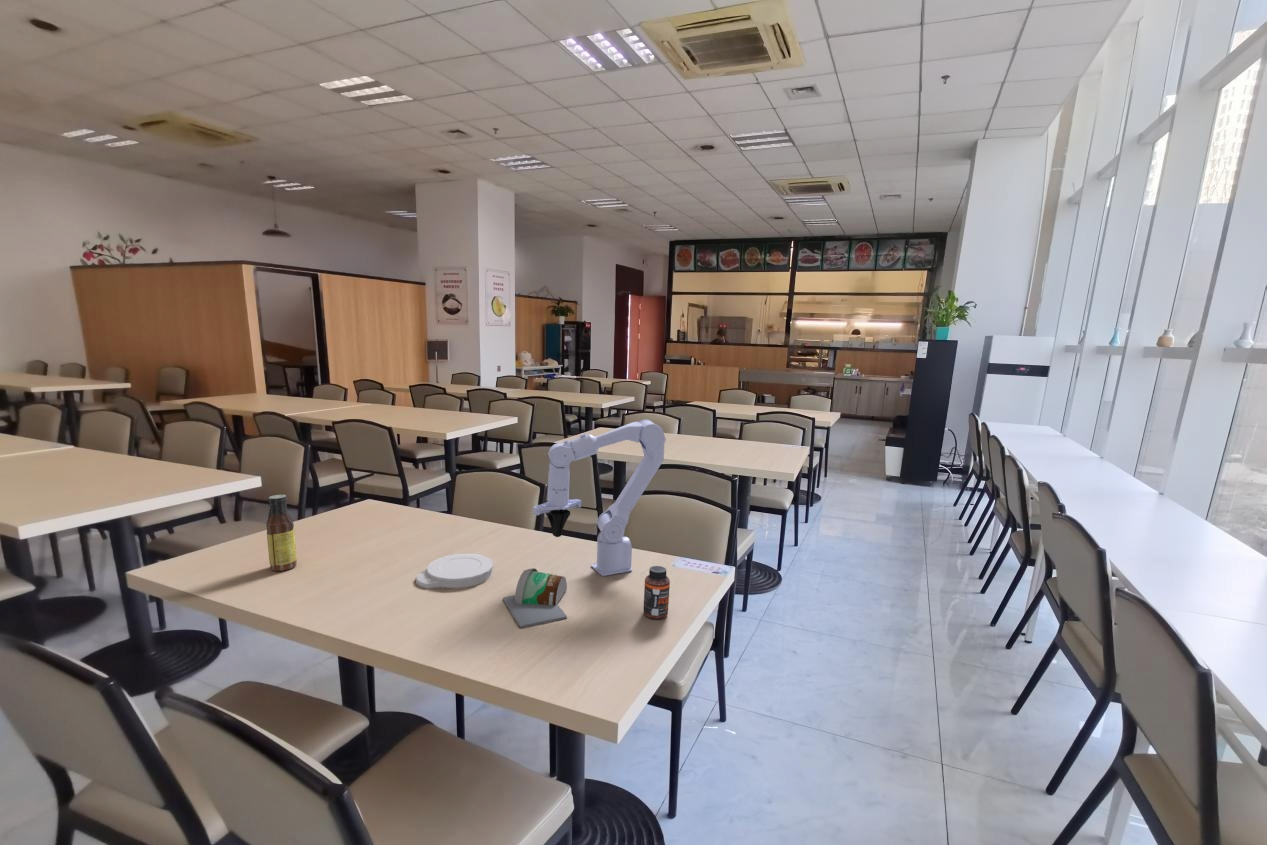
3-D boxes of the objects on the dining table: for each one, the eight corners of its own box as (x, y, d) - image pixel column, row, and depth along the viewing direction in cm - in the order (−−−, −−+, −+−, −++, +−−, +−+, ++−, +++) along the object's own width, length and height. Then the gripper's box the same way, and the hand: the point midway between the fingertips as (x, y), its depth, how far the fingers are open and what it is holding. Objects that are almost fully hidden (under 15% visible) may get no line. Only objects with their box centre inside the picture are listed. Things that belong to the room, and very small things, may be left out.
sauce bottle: (302, 563, 151) (299, 493, 148) (286, 573, 145) (282, 500, 142) (280, 562, 151) (276, 492, 149) (262, 571, 145) (258, 498, 142)
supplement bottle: (660, 622, 126) (662, 576, 125) (638, 615, 129) (640, 569, 128) (672, 612, 131) (674, 567, 130) (651, 605, 134) (653, 561, 133)
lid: (408, 573, 148) (408, 562, 148) (480, 558, 160) (480, 549, 159) (425, 598, 134) (425, 586, 134) (503, 580, 146) (503, 570, 145)
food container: (554, 583, 129) (513, 579, 131) (553, 608, 130) (513, 603, 132) (569, 564, 141) (532, 560, 143) (568, 586, 142) (531, 582, 144)
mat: (545, 591, 140) (545, 589, 140) (566, 618, 127) (566, 616, 127) (502, 599, 135) (502, 597, 135) (520, 628, 122) (520, 625, 121)
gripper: (543, 494, 141) (542, 545, 143) (588, 487, 151) (586, 535, 153) (529, 488, 146) (528, 537, 148) (573, 482, 156) (571, 527, 158)
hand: (556, 535), depth 151 cm, fingers closed
